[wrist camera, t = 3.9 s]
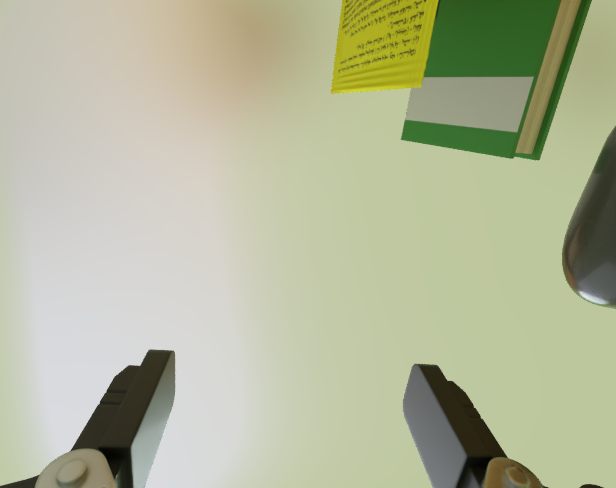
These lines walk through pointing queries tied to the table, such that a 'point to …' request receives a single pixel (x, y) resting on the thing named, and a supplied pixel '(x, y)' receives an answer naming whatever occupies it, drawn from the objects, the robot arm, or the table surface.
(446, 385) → the robot arm
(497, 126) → the hardback book
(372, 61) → the food package
